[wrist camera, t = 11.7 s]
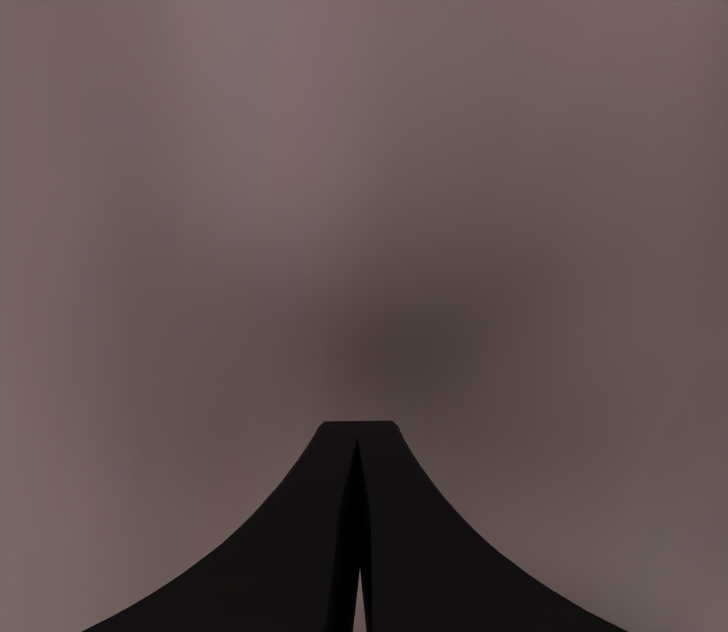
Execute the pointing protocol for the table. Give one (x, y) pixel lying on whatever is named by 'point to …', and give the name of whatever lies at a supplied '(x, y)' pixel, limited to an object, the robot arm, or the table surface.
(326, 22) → the table surface
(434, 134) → the table surface
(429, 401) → the table surface
